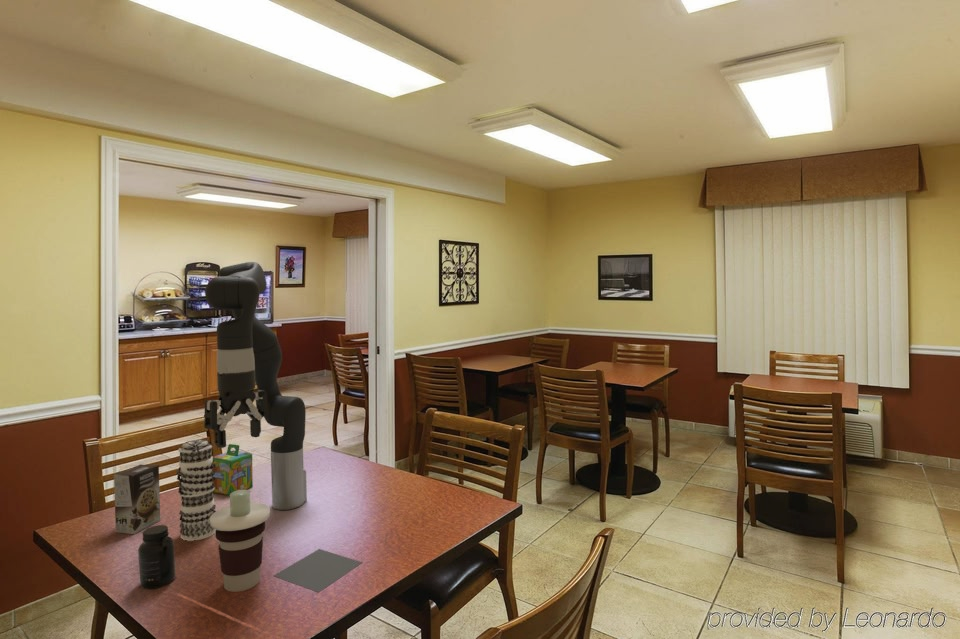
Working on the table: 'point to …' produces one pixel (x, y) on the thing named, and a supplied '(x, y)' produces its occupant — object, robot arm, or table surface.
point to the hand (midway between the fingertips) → (238, 441)
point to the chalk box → (232, 471)
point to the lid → (239, 513)
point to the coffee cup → (241, 557)
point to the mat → (318, 570)
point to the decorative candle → (196, 489)
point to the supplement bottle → (156, 558)
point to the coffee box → (137, 498)
